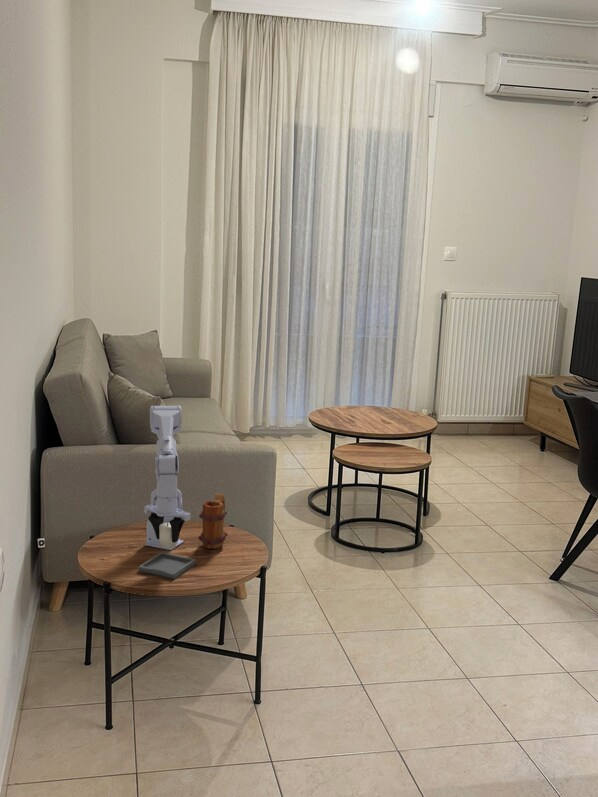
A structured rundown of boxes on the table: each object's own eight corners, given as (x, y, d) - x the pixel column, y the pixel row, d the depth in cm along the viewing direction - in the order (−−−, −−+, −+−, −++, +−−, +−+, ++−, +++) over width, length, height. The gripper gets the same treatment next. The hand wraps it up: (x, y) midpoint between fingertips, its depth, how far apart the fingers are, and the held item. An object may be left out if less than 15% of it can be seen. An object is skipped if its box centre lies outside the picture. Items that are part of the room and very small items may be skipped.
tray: (138, 571, 233) (138, 566, 233) (161, 556, 244) (161, 551, 244) (173, 579, 229) (173, 574, 228) (195, 564, 239) (195, 559, 239)
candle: (156, 545, 234) (155, 523, 233) (167, 540, 238) (166, 519, 237) (168, 549, 232) (168, 527, 231) (179, 544, 236) (179, 522, 235)
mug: (220, 553, 248) (221, 507, 245) (195, 550, 250) (195, 504, 247) (234, 536, 262) (234, 492, 259) (210, 533, 264) (210, 489, 261)
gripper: (137, 495, 231) (138, 539, 234) (181, 503, 225) (181, 549, 228) (151, 488, 237) (152, 531, 240) (194, 496, 232) (194, 540, 235)
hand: (167, 539), depth 235 cm, fingers closed on candle, 5 cm apart
